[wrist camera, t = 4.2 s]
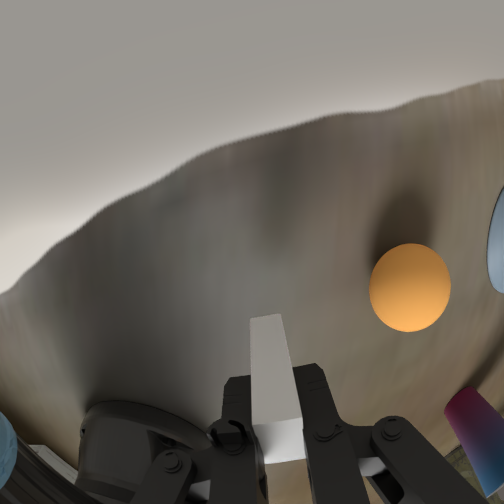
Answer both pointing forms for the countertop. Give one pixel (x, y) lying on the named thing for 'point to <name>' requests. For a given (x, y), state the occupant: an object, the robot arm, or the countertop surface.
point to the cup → (479, 436)
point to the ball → (409, 287)
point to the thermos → (469, 473)
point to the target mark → (496, 246)
